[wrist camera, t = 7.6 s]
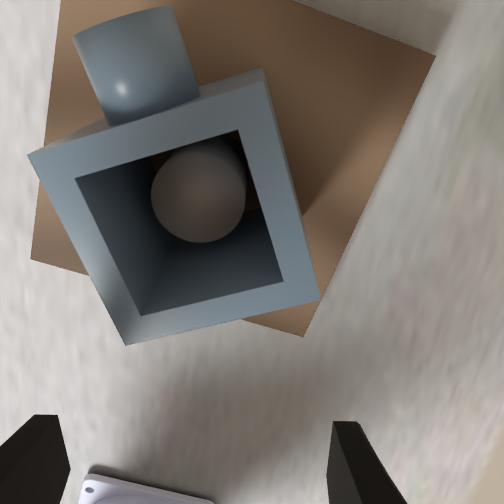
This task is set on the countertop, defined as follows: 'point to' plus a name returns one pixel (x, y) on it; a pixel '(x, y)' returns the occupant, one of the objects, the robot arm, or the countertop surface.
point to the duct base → (229, 144)
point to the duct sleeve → (142, 176)
